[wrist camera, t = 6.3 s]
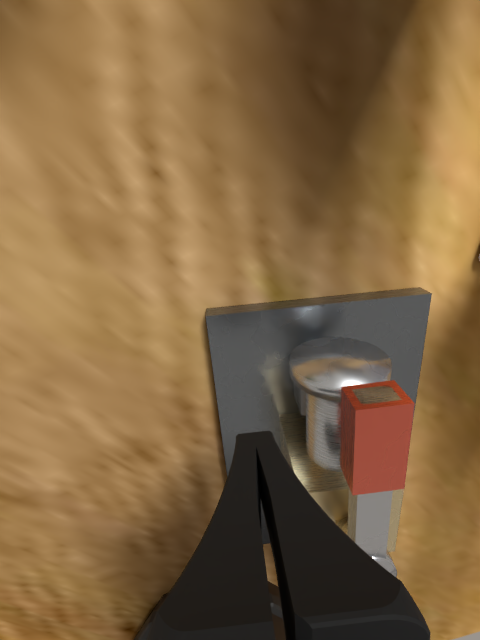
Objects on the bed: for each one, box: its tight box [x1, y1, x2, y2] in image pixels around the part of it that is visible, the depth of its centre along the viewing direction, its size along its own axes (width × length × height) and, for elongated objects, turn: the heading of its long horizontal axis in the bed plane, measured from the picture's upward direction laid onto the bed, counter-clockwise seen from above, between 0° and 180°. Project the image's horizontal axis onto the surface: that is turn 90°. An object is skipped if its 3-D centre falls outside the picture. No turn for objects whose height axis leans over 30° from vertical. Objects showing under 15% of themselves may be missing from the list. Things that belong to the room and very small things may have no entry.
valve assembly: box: [206, 287, 432, 552], centre depth 20 cm, size 20×13×8 cm, turn 5°
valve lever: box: [340, 380, 415, 577], centre depth 14 cm, size 11×2×1 cm, turn 6°
